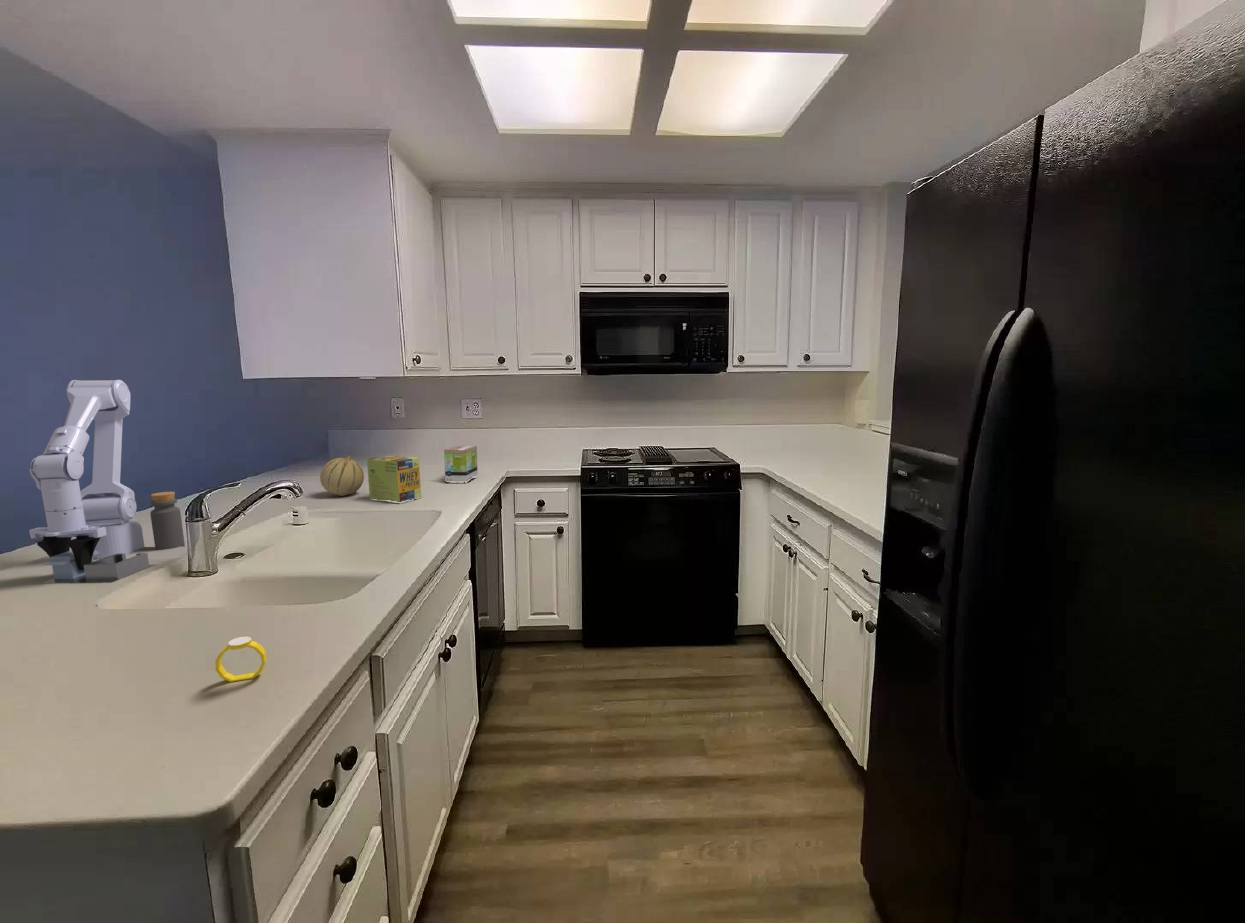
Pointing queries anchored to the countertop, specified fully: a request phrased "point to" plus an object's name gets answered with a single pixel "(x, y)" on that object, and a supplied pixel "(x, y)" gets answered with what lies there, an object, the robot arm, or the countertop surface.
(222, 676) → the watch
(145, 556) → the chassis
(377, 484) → the protein box
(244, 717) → the countertop surface
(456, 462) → the tea box
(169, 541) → the bottle
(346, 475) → the cantaloupe
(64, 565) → the block
